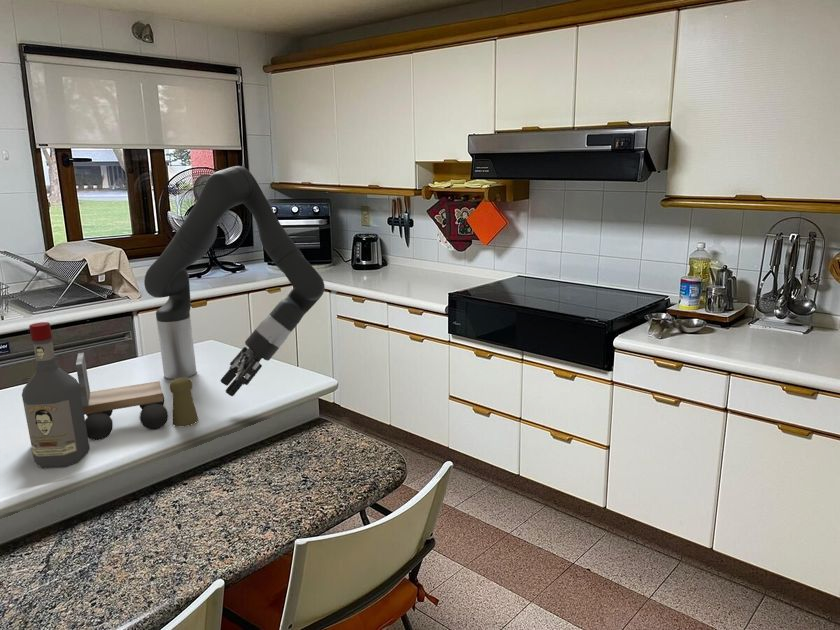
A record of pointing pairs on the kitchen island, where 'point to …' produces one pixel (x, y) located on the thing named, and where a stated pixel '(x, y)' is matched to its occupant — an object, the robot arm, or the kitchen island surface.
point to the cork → (183, 402)
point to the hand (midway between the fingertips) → (225, 388)
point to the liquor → (53, 407)
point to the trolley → (119, 403)
